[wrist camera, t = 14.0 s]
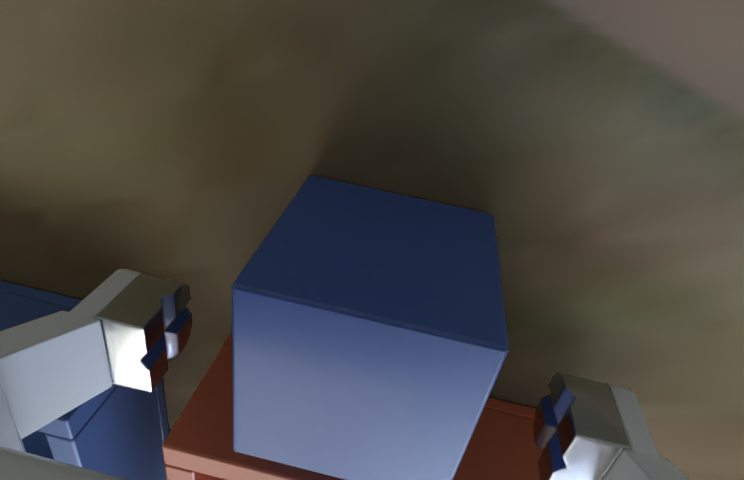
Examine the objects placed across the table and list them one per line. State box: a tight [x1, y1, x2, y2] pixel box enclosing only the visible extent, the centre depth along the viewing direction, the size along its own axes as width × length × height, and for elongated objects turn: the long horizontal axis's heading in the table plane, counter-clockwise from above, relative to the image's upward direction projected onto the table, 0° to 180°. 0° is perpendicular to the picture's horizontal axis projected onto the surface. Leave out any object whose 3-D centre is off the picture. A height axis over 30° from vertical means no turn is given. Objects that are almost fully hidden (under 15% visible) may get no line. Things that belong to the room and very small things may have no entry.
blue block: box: [232, 175, 509, 480], centre depth 10 cm, size 4×4×4 cm
